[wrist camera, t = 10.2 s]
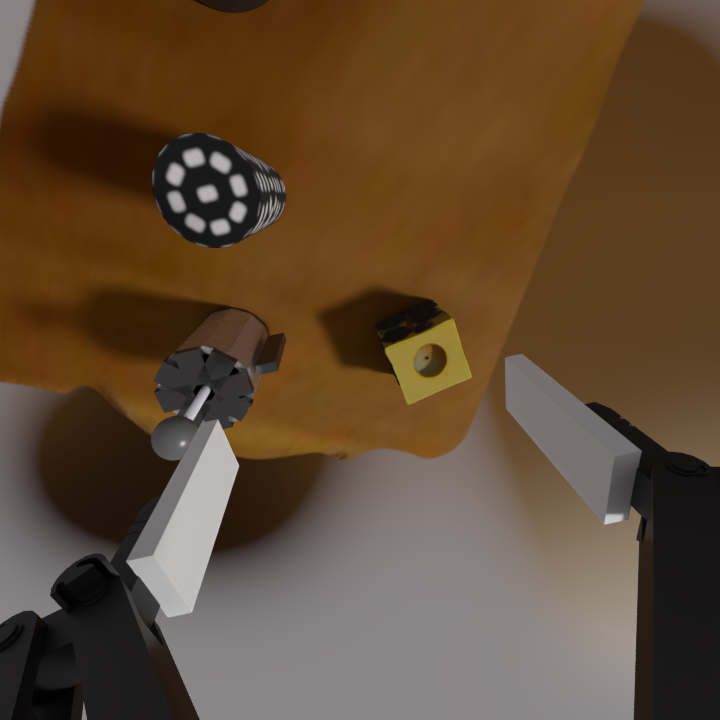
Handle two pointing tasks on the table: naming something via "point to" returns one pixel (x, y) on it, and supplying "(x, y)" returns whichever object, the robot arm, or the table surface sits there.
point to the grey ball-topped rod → (178, 429)
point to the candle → (423, 351)
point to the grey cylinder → (219, 366)
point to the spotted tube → (215, 190)
